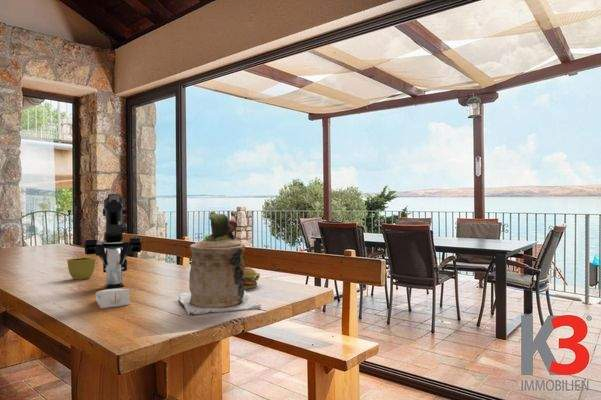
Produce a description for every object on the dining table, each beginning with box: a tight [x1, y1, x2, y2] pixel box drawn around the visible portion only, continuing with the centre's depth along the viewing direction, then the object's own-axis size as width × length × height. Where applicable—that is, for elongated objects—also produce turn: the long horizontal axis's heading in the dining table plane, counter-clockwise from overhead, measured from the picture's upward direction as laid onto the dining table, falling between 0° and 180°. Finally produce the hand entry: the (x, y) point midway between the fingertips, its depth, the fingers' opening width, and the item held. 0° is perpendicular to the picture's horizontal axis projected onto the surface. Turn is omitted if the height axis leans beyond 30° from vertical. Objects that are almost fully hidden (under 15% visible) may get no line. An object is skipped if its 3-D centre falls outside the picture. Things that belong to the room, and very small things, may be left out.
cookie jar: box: [178, 211, 262, 316], centre depth 144 cm, size 25×25×32 cm
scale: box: [95, 288, 131, 309], centre depth 146 cm, size 13×10×5 cm
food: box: [242, 266, 261, 290], centre depth 172 cm, size 14×14×8 cm
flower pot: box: [66, 256, 97, 281], centre depth 190 cm, size 9×9×9 cm
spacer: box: [105, 248, 121, 284], centre depth 147 cm, size 5×5×12 cm
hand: (113, 264), depth 146 cm, fingers closed on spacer, 5 cm apart
